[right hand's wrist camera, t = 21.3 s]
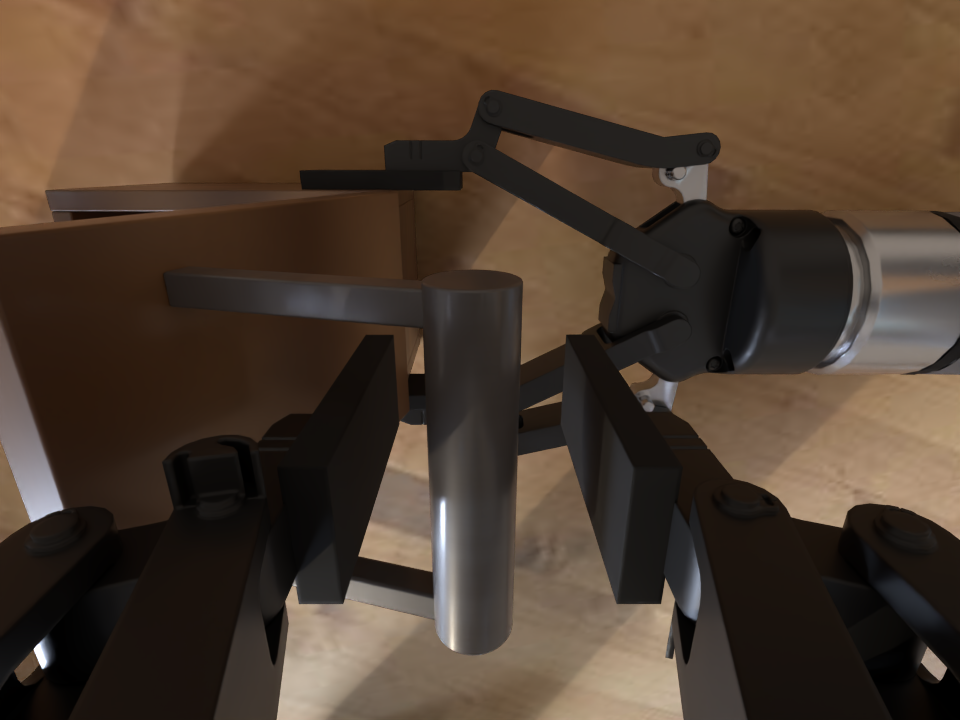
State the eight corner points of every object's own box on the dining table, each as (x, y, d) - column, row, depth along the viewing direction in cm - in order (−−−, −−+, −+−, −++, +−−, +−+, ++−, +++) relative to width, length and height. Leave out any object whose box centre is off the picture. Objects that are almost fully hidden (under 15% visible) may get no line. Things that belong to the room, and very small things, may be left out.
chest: (200, 343, 32) (104, 404, 24) (167, 183, 28) (44, 189, 20) (420, 342, 32) (400, 403, 24) (413, 183, 28) (388, 190, 20)
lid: (94, 697, 11) (468, 824, 9) (-80, 234, 7) (463, 263, 5) (388, 408, 23) (568, 431, 21) (373, 190, 20) (584, 194, 18)
